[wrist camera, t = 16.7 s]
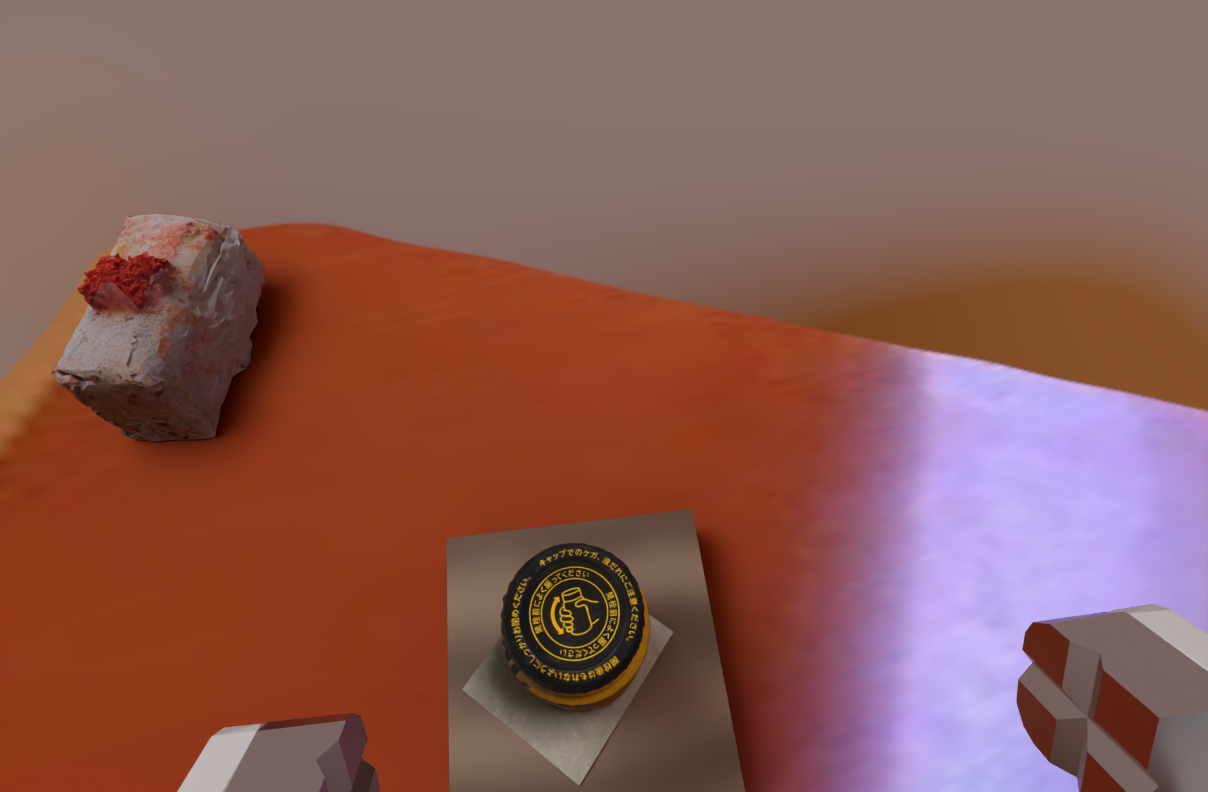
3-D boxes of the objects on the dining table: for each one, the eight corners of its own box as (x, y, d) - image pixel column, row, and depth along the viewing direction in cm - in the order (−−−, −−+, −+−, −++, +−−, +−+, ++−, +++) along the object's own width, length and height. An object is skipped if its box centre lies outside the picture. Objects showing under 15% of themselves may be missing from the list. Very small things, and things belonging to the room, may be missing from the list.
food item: (182, 279, 50) (91, 184, 41) (286, 280, 50) (217, 184, 41) (121, 444, 44) (-1, 372, 35) (240, 444, 44) (147, 373, 35)
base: (730, 785, 34) (745, 792, 31) (466, 823, 34) (450, 834, 30) (684, 528, 41) (691, 509, 37) (460, 555, 40) (446, 538, 36)
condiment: (673, 632, 34) (704, 589, 24) (579, 785, 31) (564, 816, 20) (562, 553, 36) (544, 480, 25) (463, 689, 33) (394, 672, 22)
